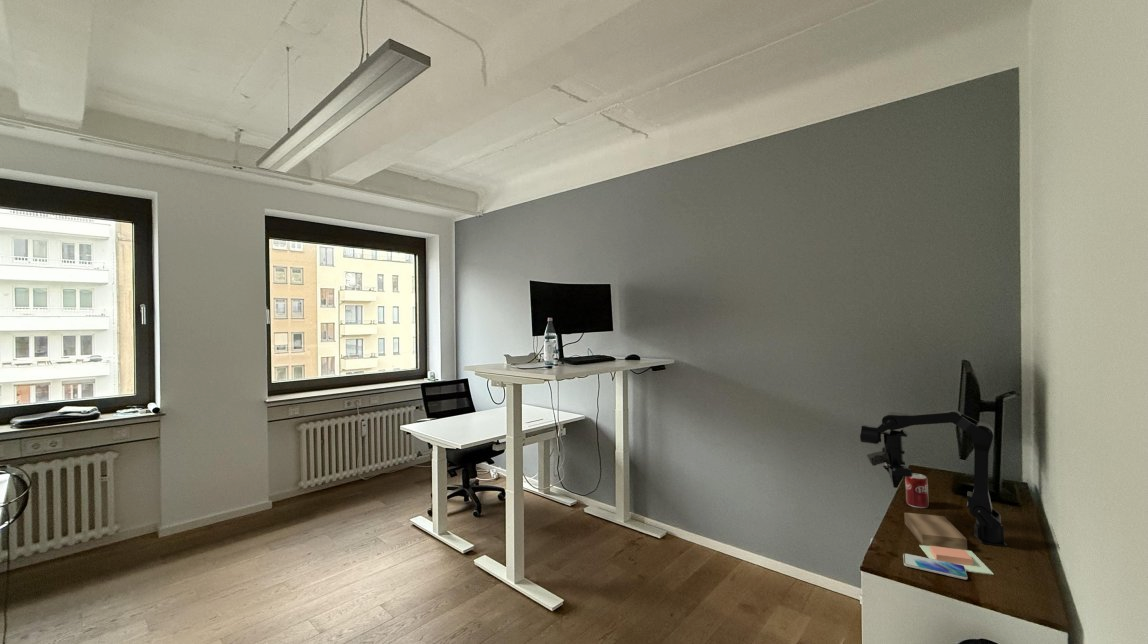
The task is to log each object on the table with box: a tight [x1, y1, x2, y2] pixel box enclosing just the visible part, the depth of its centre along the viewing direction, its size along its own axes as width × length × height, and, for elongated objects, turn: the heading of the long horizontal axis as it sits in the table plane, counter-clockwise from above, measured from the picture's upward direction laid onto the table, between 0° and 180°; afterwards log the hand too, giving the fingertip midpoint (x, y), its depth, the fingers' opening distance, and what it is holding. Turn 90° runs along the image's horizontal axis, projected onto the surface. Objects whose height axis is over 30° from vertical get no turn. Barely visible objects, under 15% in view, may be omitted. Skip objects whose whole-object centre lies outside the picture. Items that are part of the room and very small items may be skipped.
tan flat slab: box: [903, 512, 968, 550], centre depth 156 cm, size 12×18×4 cm, turn 159°
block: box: [930, 546, 973, 566], centre depth 141 cm, size 9×6×2 cm, turn 67°
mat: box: [919, 544, 995, 576], centre depth 141 cm, size 14×14×1 cm
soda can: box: [904, 472, 930, 509], centre depth 181 cm, size 7×7×12 cm
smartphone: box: [902, 552, 968, 581], centre depth 136 cm, size 7×1×15 cm
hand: (895, 487), depth 169 cm, fingers closed
